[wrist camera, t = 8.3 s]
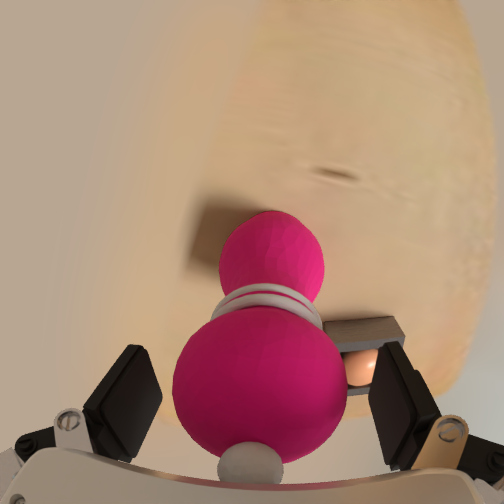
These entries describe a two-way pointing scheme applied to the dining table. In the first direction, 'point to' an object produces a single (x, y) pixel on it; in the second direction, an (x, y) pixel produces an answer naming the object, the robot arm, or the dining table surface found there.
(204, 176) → the dining table surface
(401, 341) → the button housing
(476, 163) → the dining table surface
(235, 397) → the pepper mill
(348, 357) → the button
